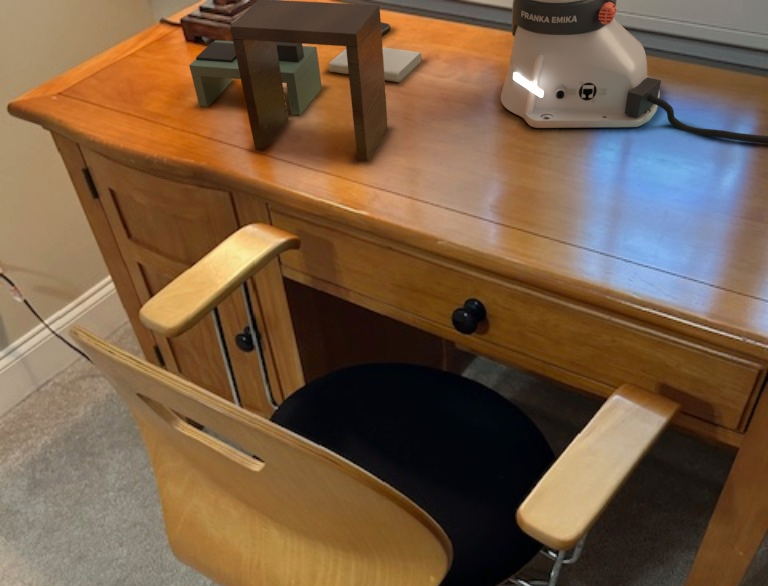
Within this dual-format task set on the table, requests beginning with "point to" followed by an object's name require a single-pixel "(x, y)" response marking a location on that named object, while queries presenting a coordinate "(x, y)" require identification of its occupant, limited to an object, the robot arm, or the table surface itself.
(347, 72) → the hard drive
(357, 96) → the high shelf
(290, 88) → the low shelf
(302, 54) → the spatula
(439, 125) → the table surface
